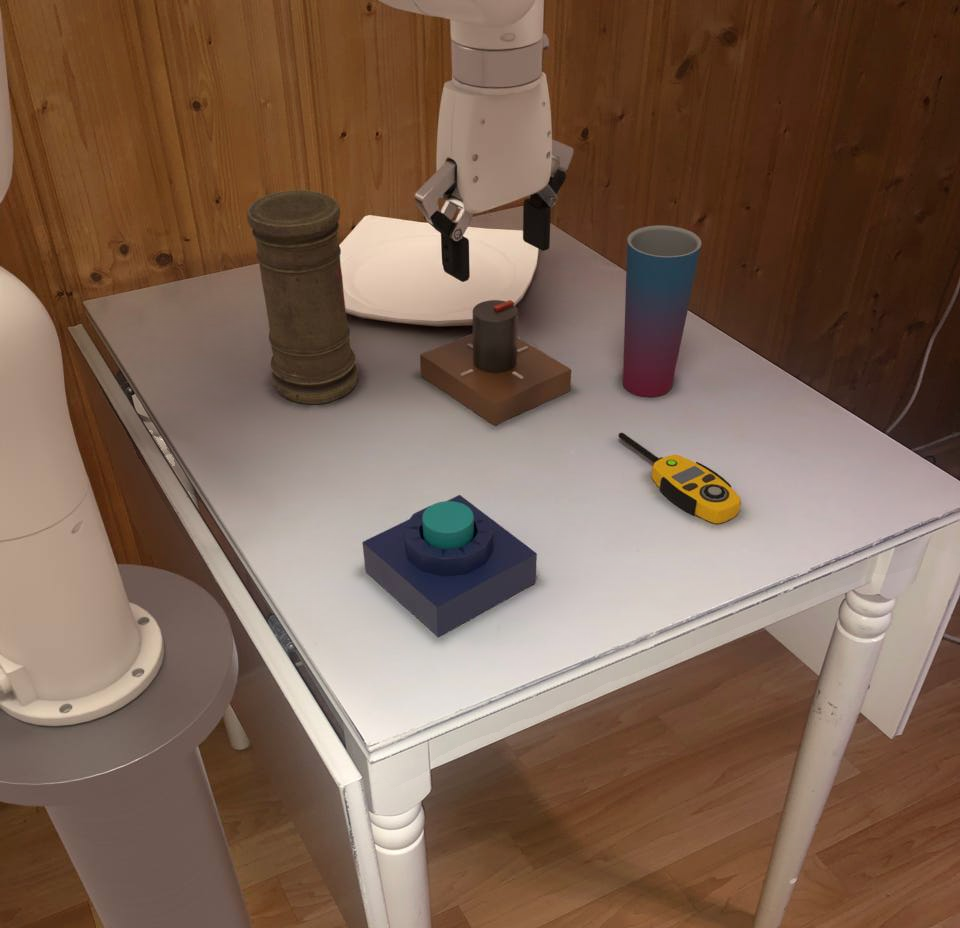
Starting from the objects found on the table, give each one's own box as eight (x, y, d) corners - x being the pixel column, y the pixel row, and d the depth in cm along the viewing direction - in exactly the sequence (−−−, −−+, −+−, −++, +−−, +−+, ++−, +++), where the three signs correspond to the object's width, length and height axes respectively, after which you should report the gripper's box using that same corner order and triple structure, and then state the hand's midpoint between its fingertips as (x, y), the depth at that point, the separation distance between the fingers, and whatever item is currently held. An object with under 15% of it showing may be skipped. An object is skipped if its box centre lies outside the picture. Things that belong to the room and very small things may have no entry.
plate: (293, 322, 117) (290, 299, 115) (362, 231, 134) (360, 210, 132) (507, 347, 113) (508, 324, 111) (550, 249, 130) (551, 228, 128)
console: (494, 425, 102) (494, 402, 100) (420, 376, 109) (419, 352, 107) (570, 391, 107) (571, 367, 105) (495, 345, 113) (495, 322, 111)
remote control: (712, 513, 89) (600, 431, 98) (709, 531, 91) (598, 448, 99) (753, 493, 91) (639, 415, 100) (749, 511, 92) (637, 432, 101)
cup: (667, 363, 110) (686, 222, 100) (690, 397, 106) (712, 252, 95) (605, 371, 109) (617, 229, 99) (625, 405, 105) (640, 260, 94)
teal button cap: (443, 556, 81) (443, 539, 80) (413, 531, 83) (412, 514, 82) (484, 536, 83) (483, 518, 82) (452, 512, 85) (452, 494, 84)
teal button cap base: (438, 637, 81) (436, 589, 78) (365, 571, 87) (360, 524, 83) (535, 583, 86) (537, 535, 82) (460, 524, 91) (459, 477, 88)
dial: (491, 377, 104) (491, 323, 100) (464, 359, 106) (463, 306, 102) (525, 362, 106) (527, 309, 102) (497, 345, 108) (498, 292, 104)
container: (323, 414, 104) (301, 235, 91) (253, 389, 107) (222, 213, 95) (377, 373, 109) (362, 199, 97) (308, 351, 113) (286, 180, 100)
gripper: (545, 30, 93) (540, 222, 105) (384, 72, 85) (399, 274, 97) (604, 50, 88) (591, 247, 101) (441, 96, 81) (448, 304, 93)
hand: (497, 260), depth 99 cm, fingers open, 9 cm apart
